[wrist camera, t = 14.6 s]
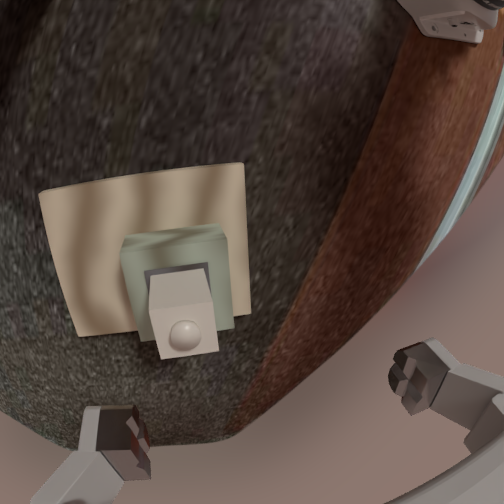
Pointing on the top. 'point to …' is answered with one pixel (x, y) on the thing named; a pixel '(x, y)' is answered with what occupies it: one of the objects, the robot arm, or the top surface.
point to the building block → (182, 314)
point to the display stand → (148, 243)
